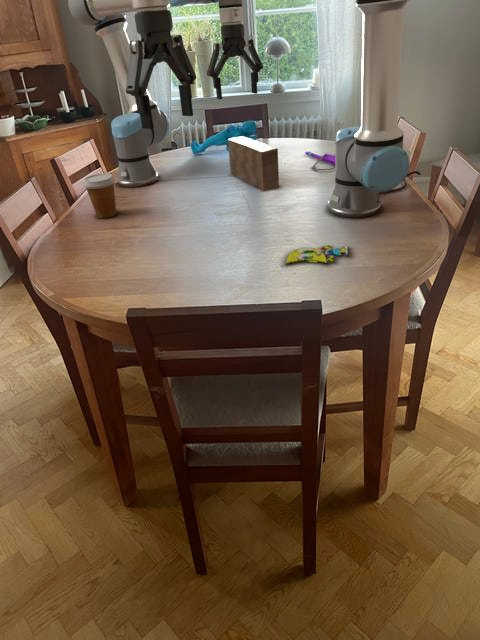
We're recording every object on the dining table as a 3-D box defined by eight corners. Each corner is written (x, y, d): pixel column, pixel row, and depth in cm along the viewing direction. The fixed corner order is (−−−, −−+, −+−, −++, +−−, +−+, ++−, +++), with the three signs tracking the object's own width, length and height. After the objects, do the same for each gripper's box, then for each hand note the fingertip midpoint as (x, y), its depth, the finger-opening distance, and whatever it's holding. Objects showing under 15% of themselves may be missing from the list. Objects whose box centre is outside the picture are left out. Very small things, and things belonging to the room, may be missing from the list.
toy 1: (195, 134, 218) (257, 114, 208) (203, 157, 223) (264, 139, 213) (184, 143, 204) (250, 123, 194) (193, 168, 209) (257, 149, 199)
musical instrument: (342, 175, 173) (362, 153, 185) (341, 169, 172) (361, 148, 184) (283, 174, 186) (305, 153, 198) (282, 169, 184) (305, 148, 196)
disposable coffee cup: (85, 218, 153) (75, 181, 146) (103, 208, 160) (94, 172, 154) (110, 221, 150) (101, 182, 143) (127, 210, 157) (119, 173, 150)
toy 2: (349, 261, 112) (285, 261, 114) (349, 264, 113) (285, 265, 115) (347, 243, 120) (287, 244, 123) (346, 246, 121) (287, 247, 123)
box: (230, 174, 182) (227, 138, 175) (245, 171, 184) (242, 136, 177) (263, 191, 163) (261, 151, 156) (279, 187, 165) (277, 148, 158)
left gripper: (201, 27, 147) (208, 102, 158) (271, 20, 155) (274, 91, 167) (191, 27, 152) (199, 100, 164) (260, 20, 161) (263, 89, 173)
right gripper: (120, 12, 86) (142, 135, 98) (204, 5, 103) (214, 111, 115) (92, 15, 90) (116, 133, 102) (177, 8, 107) (190, 110, 118)
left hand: (237, 96), depth 165 cm, fingers open, 13 cm apart
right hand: (168, 121), depth 108 cm, fingers open, 13 cm apart
